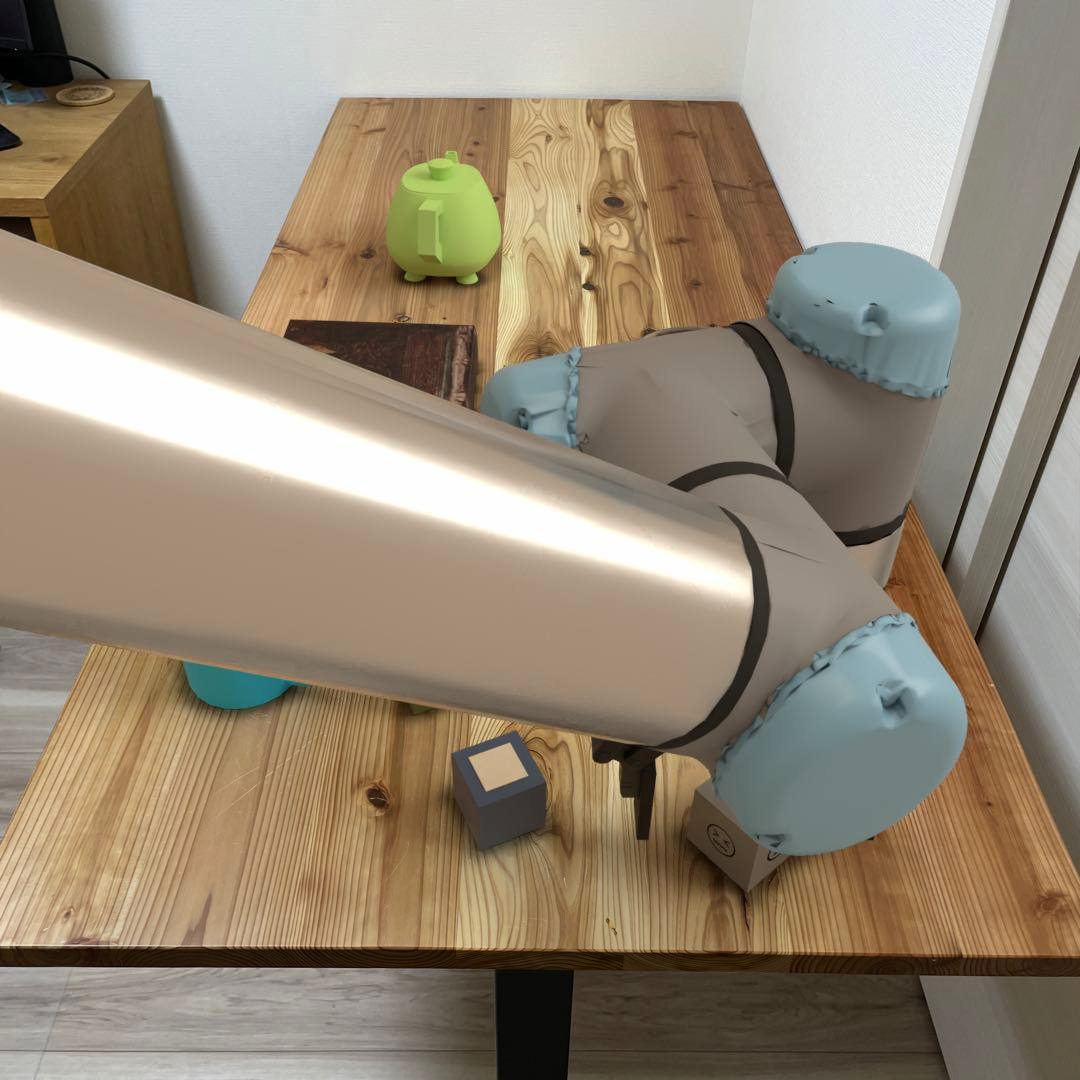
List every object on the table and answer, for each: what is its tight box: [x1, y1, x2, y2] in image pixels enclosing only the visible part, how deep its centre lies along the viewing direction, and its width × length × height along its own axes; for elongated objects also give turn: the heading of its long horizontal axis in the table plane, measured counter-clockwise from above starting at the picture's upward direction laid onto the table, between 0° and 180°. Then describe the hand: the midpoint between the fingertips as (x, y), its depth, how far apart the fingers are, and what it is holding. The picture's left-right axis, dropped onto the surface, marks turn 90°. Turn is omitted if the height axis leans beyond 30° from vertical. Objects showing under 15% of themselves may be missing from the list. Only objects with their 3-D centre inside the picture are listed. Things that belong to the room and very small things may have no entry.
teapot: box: [385, 150, 502, 285], centre depth 124 cm, size 20×13×13 cm
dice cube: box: [686, 776, 791, 893], centre depth 65 cm, size 5×5×5 cm
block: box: [450, 729, 548, 852], centre depth 67 cm, size 4×4×5 cm
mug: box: [182, 661, 312, 710], centre depth 75 cm, size 12×8×8 cm
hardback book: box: [282, 318, 479, 411], centre depth 98 cm, size 29×19×5 cm, turn 0°
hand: (751, 821), depth 66 cm, fingers open, 13 cm apart
